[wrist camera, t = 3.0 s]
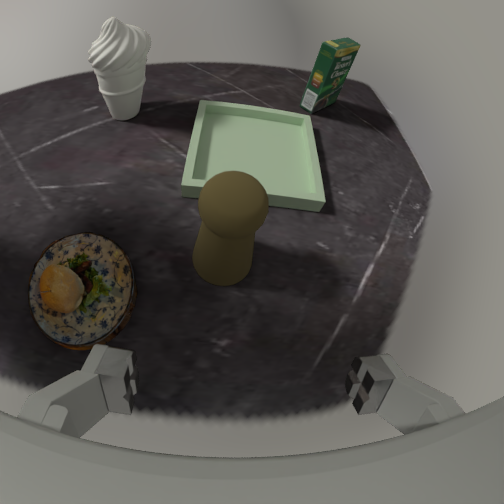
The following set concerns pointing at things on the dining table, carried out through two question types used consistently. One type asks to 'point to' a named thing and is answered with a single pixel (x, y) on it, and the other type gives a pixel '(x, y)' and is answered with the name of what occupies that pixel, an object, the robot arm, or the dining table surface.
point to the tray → (256, 152)
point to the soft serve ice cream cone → (120, 66)
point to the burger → (82, 291)
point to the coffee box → (329, 73)
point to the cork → (228, 226)
